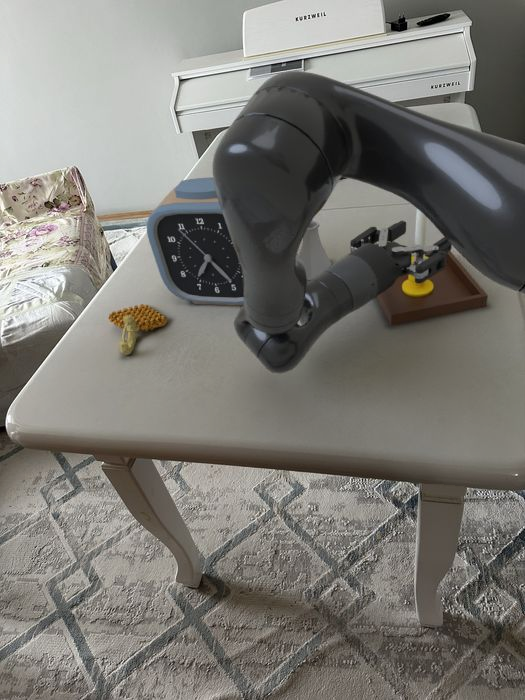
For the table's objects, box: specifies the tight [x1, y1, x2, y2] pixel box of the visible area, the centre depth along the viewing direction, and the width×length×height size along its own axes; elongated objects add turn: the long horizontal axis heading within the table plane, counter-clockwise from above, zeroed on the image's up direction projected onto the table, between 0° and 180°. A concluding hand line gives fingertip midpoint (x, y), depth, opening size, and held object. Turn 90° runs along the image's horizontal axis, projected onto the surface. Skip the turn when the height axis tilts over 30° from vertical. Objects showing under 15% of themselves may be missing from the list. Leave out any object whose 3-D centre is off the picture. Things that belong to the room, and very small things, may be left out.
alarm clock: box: [146, 176, 244, 307], centre depth 91 cm, size 21×10×22 cm, turn 75°
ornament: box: [108, 303, 168, 356], centre depth 91 cm, size 7×10×15 cm
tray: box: [375, 251, 489, 327], centre depth 88 cm, size 16×16×3 cm
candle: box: [402, 208, 434, 297], centre depth 84 cm, size 5×5×16 cm
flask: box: [298, 219, 333, 281], centre depth 96 cm, size 7×7×10 cm
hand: (426, 233), depth 82 cm, fingers open, 8 cm apart
